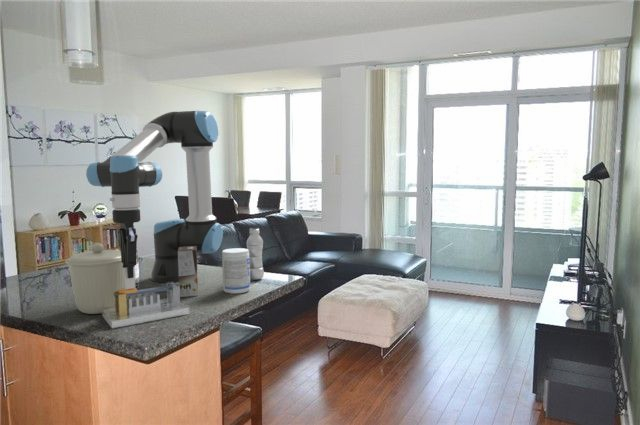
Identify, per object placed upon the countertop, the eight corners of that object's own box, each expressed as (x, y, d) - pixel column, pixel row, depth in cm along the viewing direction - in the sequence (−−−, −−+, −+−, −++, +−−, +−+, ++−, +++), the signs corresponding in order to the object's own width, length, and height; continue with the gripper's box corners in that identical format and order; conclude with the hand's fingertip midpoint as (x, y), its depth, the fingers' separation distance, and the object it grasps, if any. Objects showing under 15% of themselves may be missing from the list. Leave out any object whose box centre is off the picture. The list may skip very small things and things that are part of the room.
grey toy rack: (102, 315, 147) (100, 289, 146) (174, 303, 160) (173, 279, 159) (112, 328, 136) (110, 300, 135) (189, 313, 148) (188, 288, 147)
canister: (141, 309, 153) (138, 242, 151) (80, 322, 141) (76, 250, 139) (118, 298, 166) (115, 236, 164) (60, 309, 154) (56, 243, 152)
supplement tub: (254, 291, 173) (253, 250, 171) (229, 296, 167) (228, 253, 166) (243, 286, 181) (242, 246, 179) (219, 289, 176) (217, 249, 174)
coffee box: (198, 296, 168) (196, 249, 166) (179, 297, 166) (177, 250, 165) (198, 289, 177) (196, 245, 175) (179, 290, 175) (178, 246, 173)
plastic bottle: (243, 280, 189) (242, 229, 187) (255, 276, 195) (253, 227, 193) (256, 282, 186) (254, 230, 184) (267, 278, 191) (266, 228, 189)
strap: (113, 296, 144) (113, 289, 143) (173, 288, 153) (173, 281, 153) (116, 299, 141) (115, 292, 141) (177, 290, 151) (176, 283, 151)
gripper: (107, 207, 145) (111, 285, 148) (117, 211, 134) (121, 295, 137) (134, 206, 149) (137, 282, 152) (145, 209, 139) (149, 290, 141)
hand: (130, 288), depth 144 cm, fingers closed
